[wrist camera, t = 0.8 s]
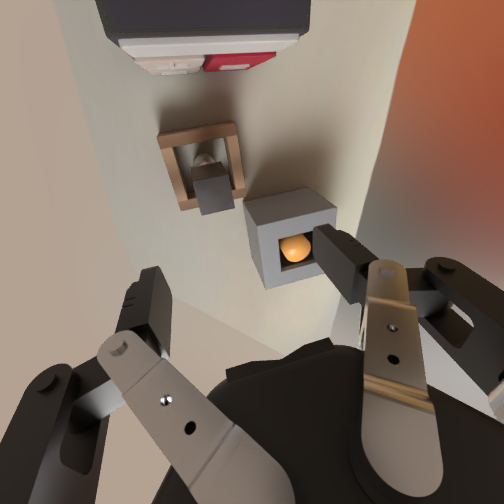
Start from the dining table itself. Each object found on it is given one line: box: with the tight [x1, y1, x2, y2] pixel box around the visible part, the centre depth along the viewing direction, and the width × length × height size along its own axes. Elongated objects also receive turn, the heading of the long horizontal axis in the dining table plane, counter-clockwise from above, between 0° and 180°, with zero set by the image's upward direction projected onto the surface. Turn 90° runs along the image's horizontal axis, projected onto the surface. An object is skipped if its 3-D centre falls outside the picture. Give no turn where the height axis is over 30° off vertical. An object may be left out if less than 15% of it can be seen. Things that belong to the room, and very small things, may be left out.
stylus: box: [191, 153, 235, 215], centre depth 25 cm, size 3×3×12 cm
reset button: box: [278, 233, 311, 262], centre depth 33 cm, size 4×4×5 cm
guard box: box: [243, 187, 337, 290], centre depth 34 cm, size 10×10×8 cm
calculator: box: [95, 0, 311, 75], centre depth 18 cm, size 11×4×15 cm, turn 94°
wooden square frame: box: [157, 121, 247, 211], centre depth 29 cm, size 8×8×3 cm
